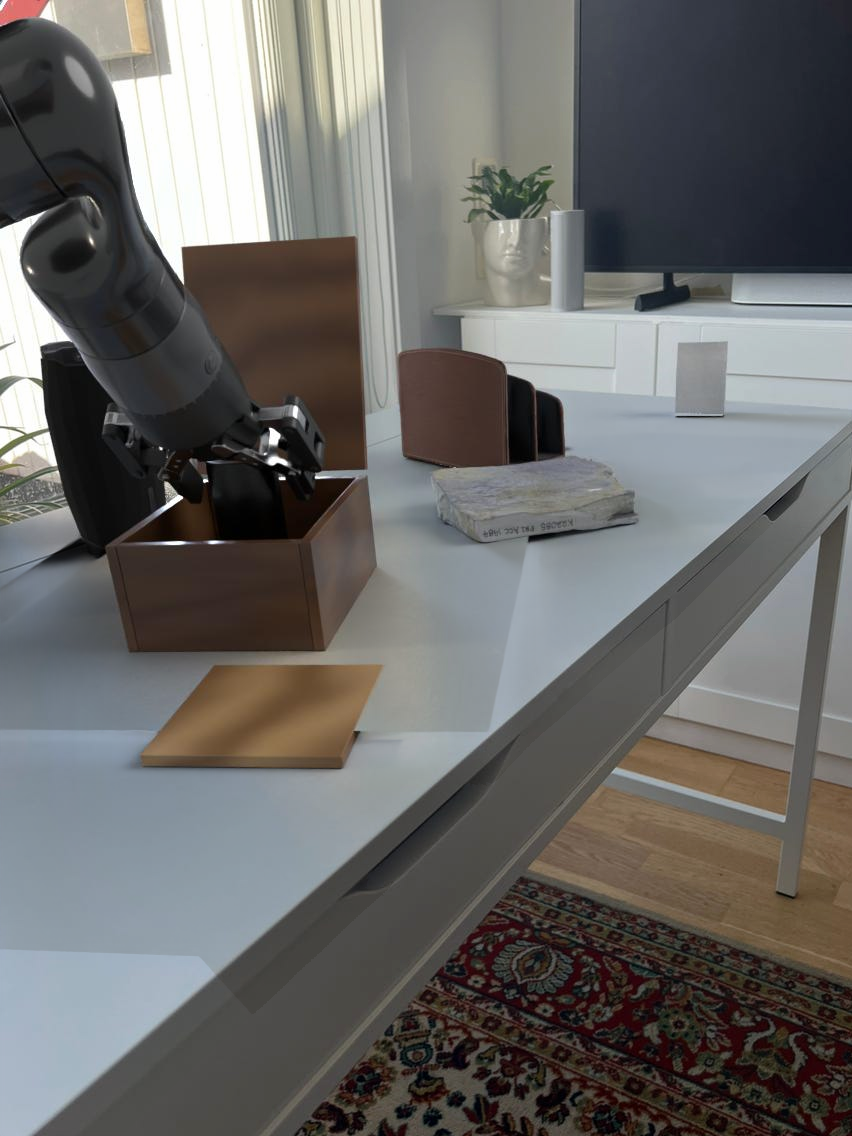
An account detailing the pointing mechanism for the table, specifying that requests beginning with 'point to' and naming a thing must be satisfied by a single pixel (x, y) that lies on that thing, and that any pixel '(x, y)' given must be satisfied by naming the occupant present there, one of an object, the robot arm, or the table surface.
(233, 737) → the board
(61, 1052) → the table surface
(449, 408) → the letter holder
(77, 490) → the portable speaker
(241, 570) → the wooden box
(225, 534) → the tin
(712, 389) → the grey rectangular block
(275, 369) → the lid
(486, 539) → the fossil
